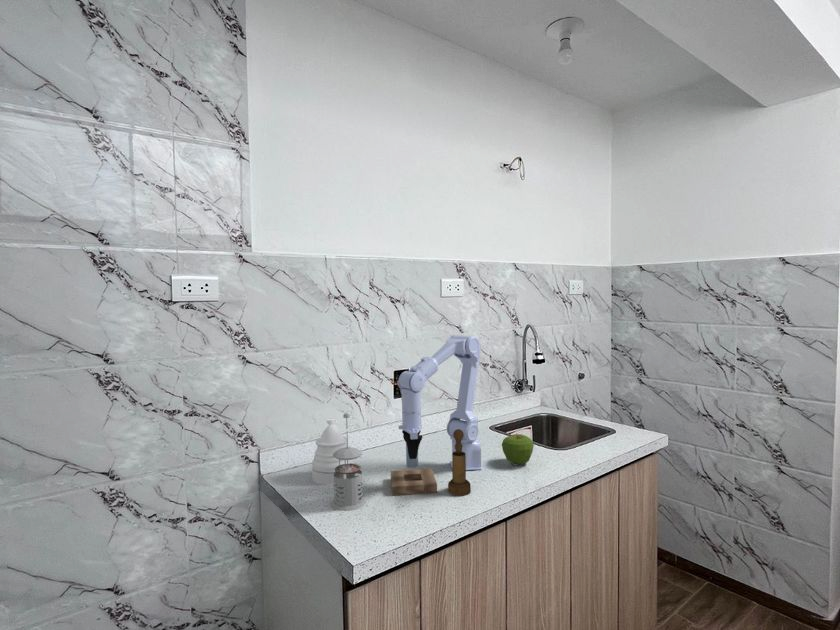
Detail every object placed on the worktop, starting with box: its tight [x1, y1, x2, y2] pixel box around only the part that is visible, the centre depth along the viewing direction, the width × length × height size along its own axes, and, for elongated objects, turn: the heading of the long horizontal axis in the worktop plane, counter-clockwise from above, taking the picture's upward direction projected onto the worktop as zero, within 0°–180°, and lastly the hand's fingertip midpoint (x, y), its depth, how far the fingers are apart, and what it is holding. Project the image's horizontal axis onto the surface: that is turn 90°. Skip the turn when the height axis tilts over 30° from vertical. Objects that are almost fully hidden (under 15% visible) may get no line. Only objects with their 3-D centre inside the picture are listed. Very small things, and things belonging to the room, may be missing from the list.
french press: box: [330, 412, 367, 512], centre depth 121 cm, size 10×12×25 cm
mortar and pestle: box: [447, 429, 472, 497], centre depth 126 cm, size 7×6×18 cm
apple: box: [501, 434, 535, 466], centre depth 147 cm, size 11×10×10 cm
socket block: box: [390, 468, 438, 496], centre depth 131 cm, size 13×12×2 cm
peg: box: [405, 443, 419, 469], centre depth 130 cm, size 4×4×8 cm
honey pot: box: [311, 418, 354, 486], centre depth 139 cm, size 13×13×18 cm
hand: (412, 456), depth 130 cm, fingers closed on peg, 4 cm apart
